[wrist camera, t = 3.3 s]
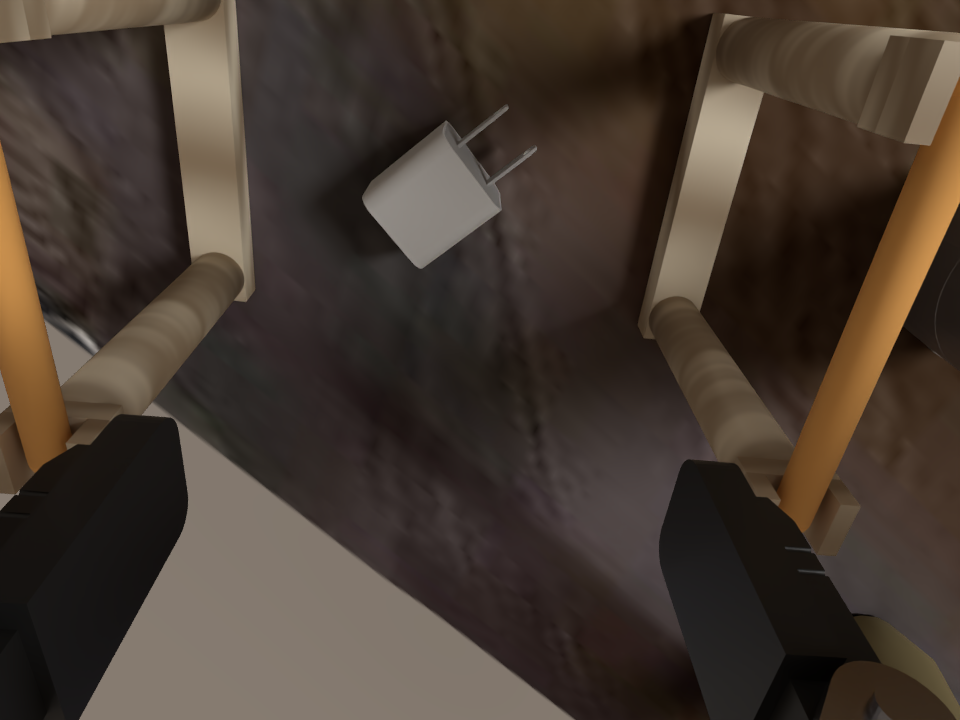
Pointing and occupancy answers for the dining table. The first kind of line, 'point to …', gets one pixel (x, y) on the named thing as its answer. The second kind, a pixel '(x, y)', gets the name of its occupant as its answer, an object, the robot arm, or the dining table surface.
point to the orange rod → (27, 344)
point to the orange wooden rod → (876, 317)
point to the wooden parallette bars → (680, 248)
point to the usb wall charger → (436, 193)
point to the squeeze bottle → (906, 658)
